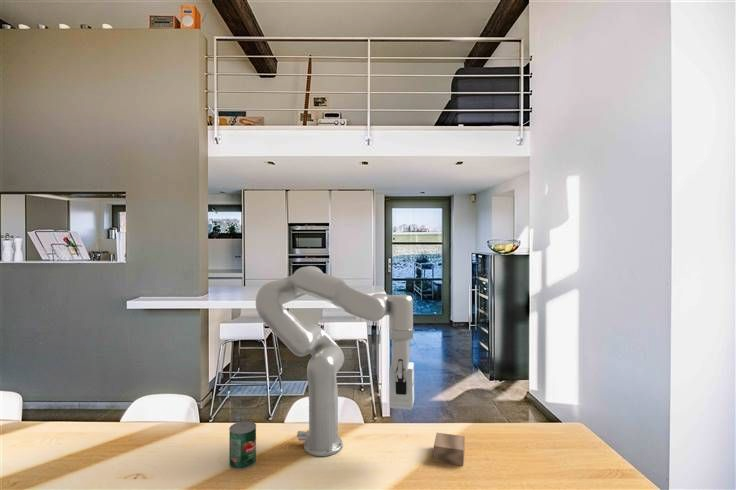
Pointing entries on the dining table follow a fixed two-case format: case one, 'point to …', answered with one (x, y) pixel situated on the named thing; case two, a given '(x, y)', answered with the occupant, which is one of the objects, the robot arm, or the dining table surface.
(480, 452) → the dining table surface
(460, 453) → the walnut block
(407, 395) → the supplement box
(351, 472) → the dining table surface
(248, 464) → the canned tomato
